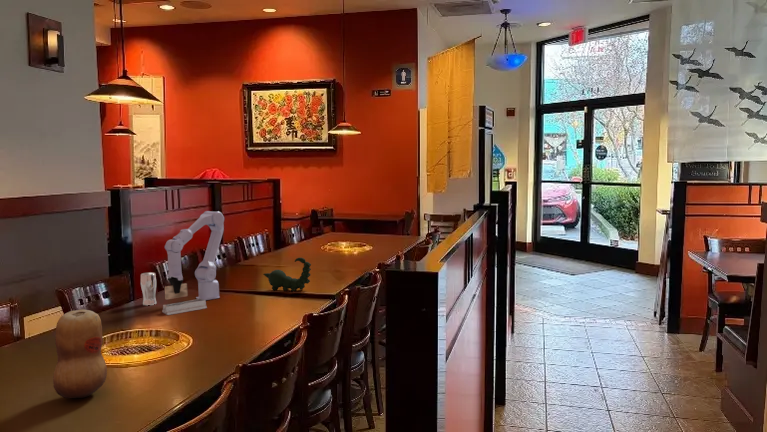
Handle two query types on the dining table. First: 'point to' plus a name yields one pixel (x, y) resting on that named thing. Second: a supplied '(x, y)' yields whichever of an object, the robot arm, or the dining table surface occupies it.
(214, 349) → the dining table surface
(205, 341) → the dining table surface
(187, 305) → the door track
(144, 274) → the beer glass
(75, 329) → the butternut squash
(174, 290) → the robot arm
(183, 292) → the door panel
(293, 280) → the toy figurine
